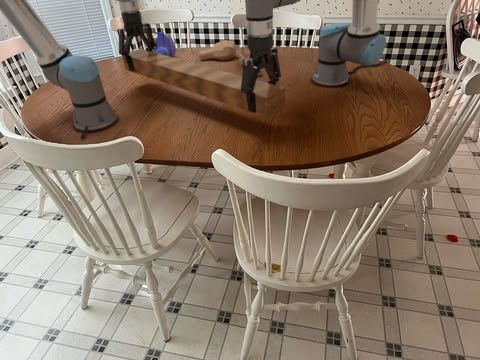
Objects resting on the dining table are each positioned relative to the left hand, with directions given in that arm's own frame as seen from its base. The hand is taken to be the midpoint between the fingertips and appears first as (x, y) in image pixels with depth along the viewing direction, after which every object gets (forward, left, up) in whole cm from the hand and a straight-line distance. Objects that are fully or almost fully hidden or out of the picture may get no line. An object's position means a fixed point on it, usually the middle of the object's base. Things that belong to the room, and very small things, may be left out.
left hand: (141, 67), depth 153 cm
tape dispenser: (+19, -48, -9) cm, 53 cm away
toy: (+34, -1, -9) cm, 35 cm away
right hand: (-44, -50, 0) cm, 67 cm away
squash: (+37, -30, -9) cm, 49 cm away
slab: (-22, -25, -1) cm, 33 cm away
